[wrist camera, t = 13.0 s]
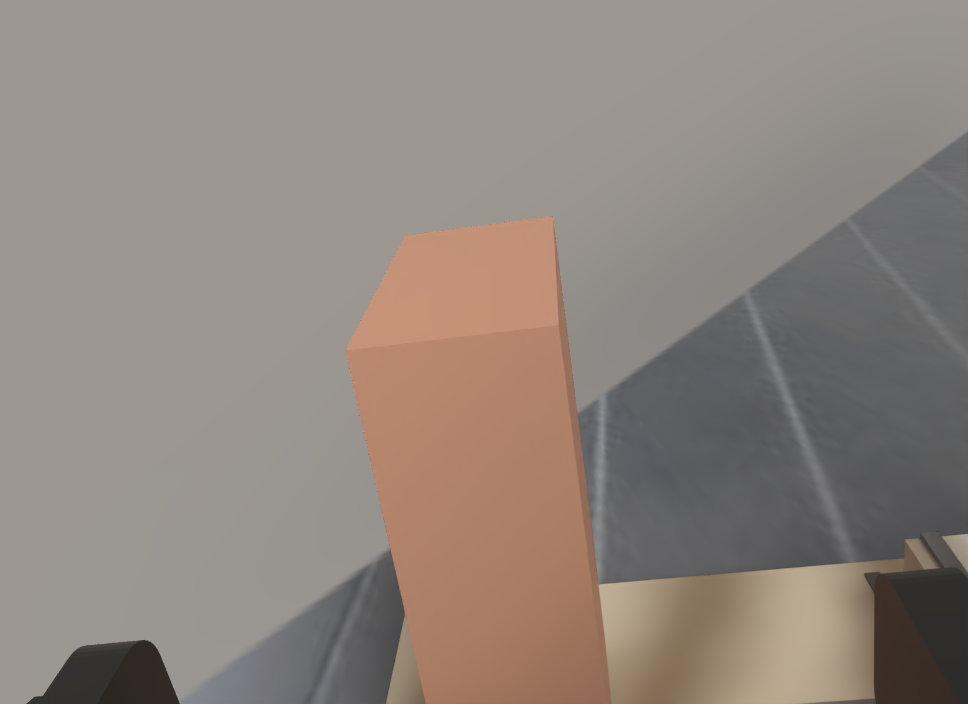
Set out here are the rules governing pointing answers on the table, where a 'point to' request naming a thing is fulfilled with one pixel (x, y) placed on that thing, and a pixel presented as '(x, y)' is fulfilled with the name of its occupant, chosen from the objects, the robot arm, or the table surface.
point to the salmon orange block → (483, 466)
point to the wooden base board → (740, 633)
